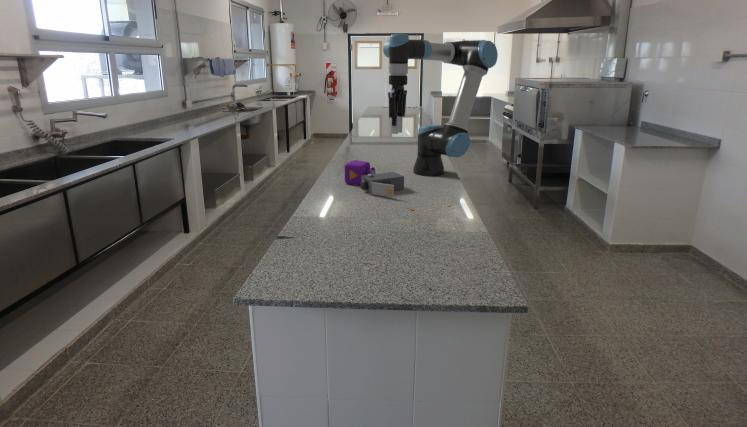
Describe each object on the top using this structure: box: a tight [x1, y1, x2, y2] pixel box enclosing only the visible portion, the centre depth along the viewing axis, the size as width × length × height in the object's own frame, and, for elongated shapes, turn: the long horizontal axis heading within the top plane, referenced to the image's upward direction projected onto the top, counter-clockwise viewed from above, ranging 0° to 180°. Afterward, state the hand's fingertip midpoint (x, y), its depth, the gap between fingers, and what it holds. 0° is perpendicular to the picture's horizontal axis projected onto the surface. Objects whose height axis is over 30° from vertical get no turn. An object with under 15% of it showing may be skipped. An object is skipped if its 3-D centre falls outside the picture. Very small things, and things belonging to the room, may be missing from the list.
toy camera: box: [344, 158, 376, 186], centre depth 220 cm, size 11×14×10 cm
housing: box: [360, 171, 405, 195], centre depth 211 cm, size 18×9×7 cm, turn 117°
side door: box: [370, 181, 395, 198], centre depth 201 cm, size 10×2×6 cm, turn 62°
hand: (396, 132), depth 204 cm, fingers open, 3 cm apart
